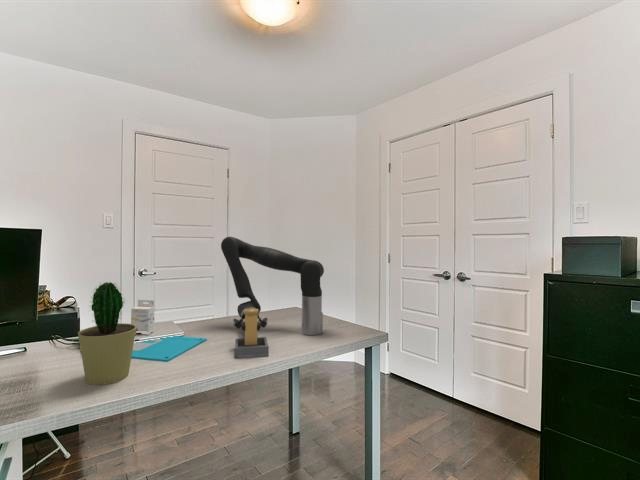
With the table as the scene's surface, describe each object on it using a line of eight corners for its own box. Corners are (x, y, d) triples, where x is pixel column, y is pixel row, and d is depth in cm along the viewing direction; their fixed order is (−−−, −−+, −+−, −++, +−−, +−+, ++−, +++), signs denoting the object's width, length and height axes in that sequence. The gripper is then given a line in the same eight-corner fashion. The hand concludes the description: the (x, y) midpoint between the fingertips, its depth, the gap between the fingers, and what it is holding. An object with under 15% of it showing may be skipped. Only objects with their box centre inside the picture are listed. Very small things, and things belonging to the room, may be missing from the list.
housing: (265, 345, 136) (266, 337, 136) (268, 355, 125) (268, 346, 125) (235, 347, 134) (235, 338, 134) (235, 358, 122) (235, 348, 122)
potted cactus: (142, 377, 104) (143, 280, 104) (82, 393, 94) (82, 285, 93) (129, 364, 115) (129, 276, 115) (73, 376, 105) (74, 279, 105)
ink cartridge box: (130, 334, 150) (130, 301, 150) (137, 331, 155) (137, 299, 155) (148, 335, 150) (148, 301, 149) (154, 332, 154) (155, 299, 154)
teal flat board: (168, 362, 118) (168, 360, 118) (99, 356, 123) (99, 353, 123) (207, 340, 144) (207, 338, 144) (149, 336, 149) (149, 333, 149)
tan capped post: (257, 340, 133) (258, 308, 132) (258, 345, 127) (258, 311, 127) (243, 341, 131) (244, 308, 131) (243, 345, 126) (244, 311, 126)
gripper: (232, 308, 142) (231, 318, 125) (267, 307, 145) (270, 317, 128) (232, 326, 142) (231, 339, 125) (266, 325, 145) (270, 337, 128)
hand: (251, 328), depth 127 cm, fingers closed on tan capped post, 4 cm apart
